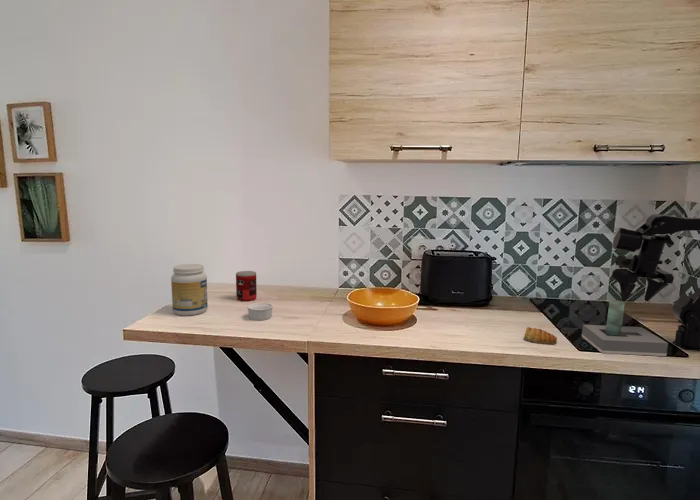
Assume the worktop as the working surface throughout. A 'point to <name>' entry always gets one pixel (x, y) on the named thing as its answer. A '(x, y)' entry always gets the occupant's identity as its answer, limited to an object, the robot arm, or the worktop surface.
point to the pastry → (539, 336)
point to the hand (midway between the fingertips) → (634, 301)
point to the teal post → (614, 318)
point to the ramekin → (260, 311)
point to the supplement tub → (189, 289)
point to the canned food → (246, 286)
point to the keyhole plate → (625, 341)
